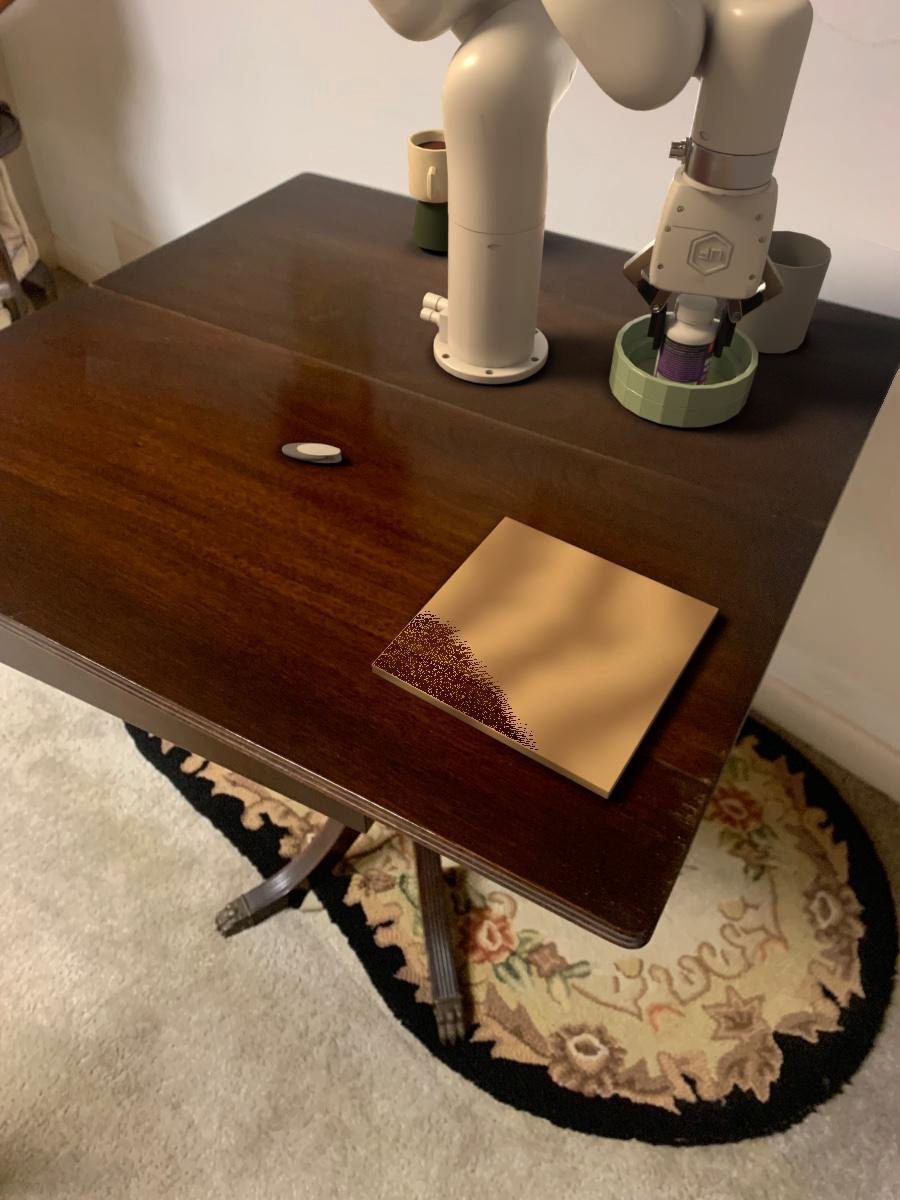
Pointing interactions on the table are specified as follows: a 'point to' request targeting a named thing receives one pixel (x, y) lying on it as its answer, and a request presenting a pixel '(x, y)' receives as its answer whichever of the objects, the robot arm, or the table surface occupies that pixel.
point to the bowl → (675, 399)
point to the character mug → (429, 188)
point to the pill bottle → (688, 341)
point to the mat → (564, 649)
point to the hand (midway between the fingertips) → (687, 345)
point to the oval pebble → (313, 452)
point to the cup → (789, 293)
